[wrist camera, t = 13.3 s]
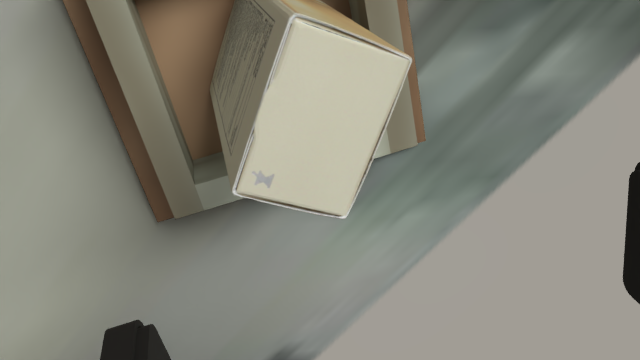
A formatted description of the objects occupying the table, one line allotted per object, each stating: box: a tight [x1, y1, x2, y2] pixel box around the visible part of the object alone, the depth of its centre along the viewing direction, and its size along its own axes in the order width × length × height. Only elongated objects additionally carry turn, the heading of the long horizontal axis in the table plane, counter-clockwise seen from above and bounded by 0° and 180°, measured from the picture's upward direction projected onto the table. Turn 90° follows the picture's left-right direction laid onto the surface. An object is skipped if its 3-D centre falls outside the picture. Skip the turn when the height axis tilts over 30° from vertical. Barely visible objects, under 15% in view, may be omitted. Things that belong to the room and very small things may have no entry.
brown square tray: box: [63, 0, 426, 222], centre depth 28 cm, size 16×16×4 cm
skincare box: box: [210, 0, 412, 219], centre depth 23 cm, size 6×4×12 cm
